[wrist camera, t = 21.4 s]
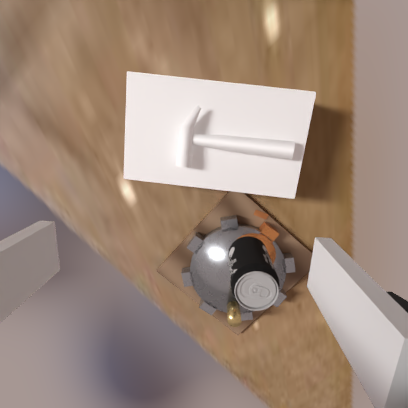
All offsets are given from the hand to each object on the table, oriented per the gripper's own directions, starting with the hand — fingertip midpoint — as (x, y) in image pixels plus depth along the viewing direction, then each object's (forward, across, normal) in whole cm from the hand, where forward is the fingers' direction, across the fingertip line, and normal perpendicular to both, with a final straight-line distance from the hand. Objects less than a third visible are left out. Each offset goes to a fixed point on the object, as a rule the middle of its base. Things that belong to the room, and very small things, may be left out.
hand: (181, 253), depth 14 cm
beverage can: (+31, +8, -14) cm, 35 cm away
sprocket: (+33, +6, -18) cm, 38 cm away
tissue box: (+35, +1, +5) cm, 35 cm away
